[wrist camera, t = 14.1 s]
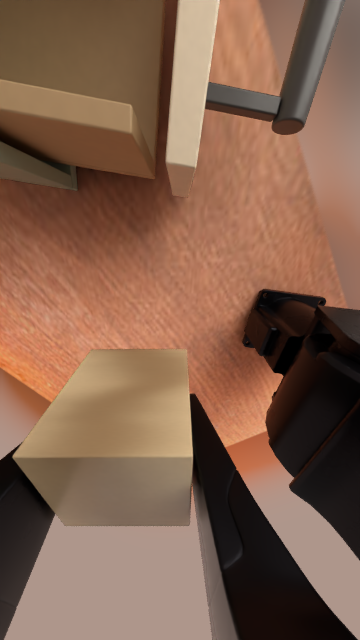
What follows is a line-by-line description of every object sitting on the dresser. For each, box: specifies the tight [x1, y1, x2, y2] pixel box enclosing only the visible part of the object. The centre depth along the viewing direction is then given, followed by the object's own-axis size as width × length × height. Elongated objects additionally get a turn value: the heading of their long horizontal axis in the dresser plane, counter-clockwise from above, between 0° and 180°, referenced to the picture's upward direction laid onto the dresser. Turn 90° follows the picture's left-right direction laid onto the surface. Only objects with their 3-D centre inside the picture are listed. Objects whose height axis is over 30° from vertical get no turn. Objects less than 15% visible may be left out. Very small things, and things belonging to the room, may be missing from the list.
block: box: [12, 349, 193, 526], centre depth 7 cm, size 4×4×4 cm
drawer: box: [0, 0, 345, 198], centre depth 7 cm, size 18×11×7 cm, turn 82°
